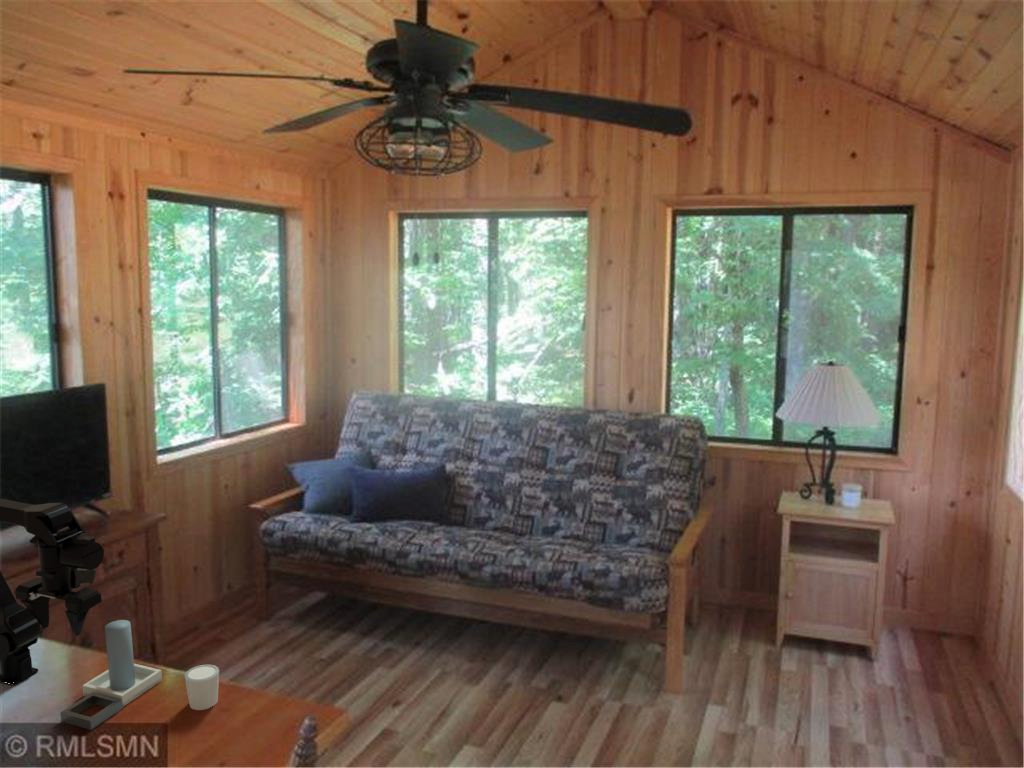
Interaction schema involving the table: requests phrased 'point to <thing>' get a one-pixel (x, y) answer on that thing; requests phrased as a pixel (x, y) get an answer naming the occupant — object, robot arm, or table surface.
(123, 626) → the post
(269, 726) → the table surface
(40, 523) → the robot arm
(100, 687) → the tray
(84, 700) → the socket
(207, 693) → the white cup
